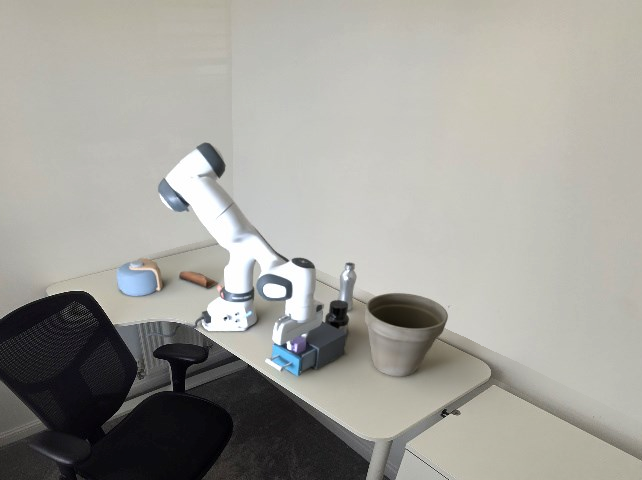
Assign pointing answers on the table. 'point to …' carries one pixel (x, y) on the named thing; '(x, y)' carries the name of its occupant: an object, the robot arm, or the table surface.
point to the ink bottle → (338, 315)
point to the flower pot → (402, 330)
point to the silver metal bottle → (347, 284)
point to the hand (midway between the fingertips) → (296, 345)
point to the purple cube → (298, 345)
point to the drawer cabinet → (326, 343)
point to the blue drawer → (292, 359)
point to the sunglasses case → (197, 278)
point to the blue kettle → (139, 277)
